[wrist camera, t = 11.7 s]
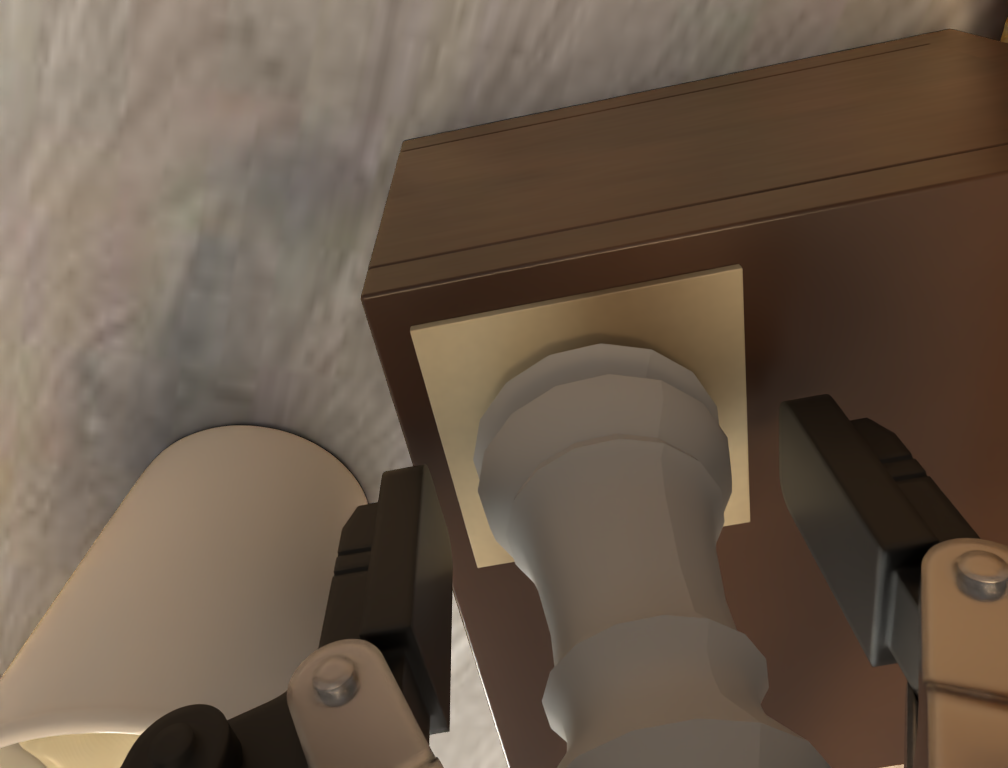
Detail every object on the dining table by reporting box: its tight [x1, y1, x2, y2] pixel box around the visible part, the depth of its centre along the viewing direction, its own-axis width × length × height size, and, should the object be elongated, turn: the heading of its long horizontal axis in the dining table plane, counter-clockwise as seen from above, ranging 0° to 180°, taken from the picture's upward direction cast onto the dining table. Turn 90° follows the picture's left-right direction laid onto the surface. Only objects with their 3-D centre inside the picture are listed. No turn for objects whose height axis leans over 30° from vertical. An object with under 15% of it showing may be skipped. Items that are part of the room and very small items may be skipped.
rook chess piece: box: [473, 343, 832, 768], centre depth 11 cm, size 4×4×8 cm
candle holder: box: [0, 425, 368, 768], centre depth 23 cm, size 10×10×12 cm
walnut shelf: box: [361, 29, 1008, 768], centre depth 19 cm, size 15×16×15 cm
